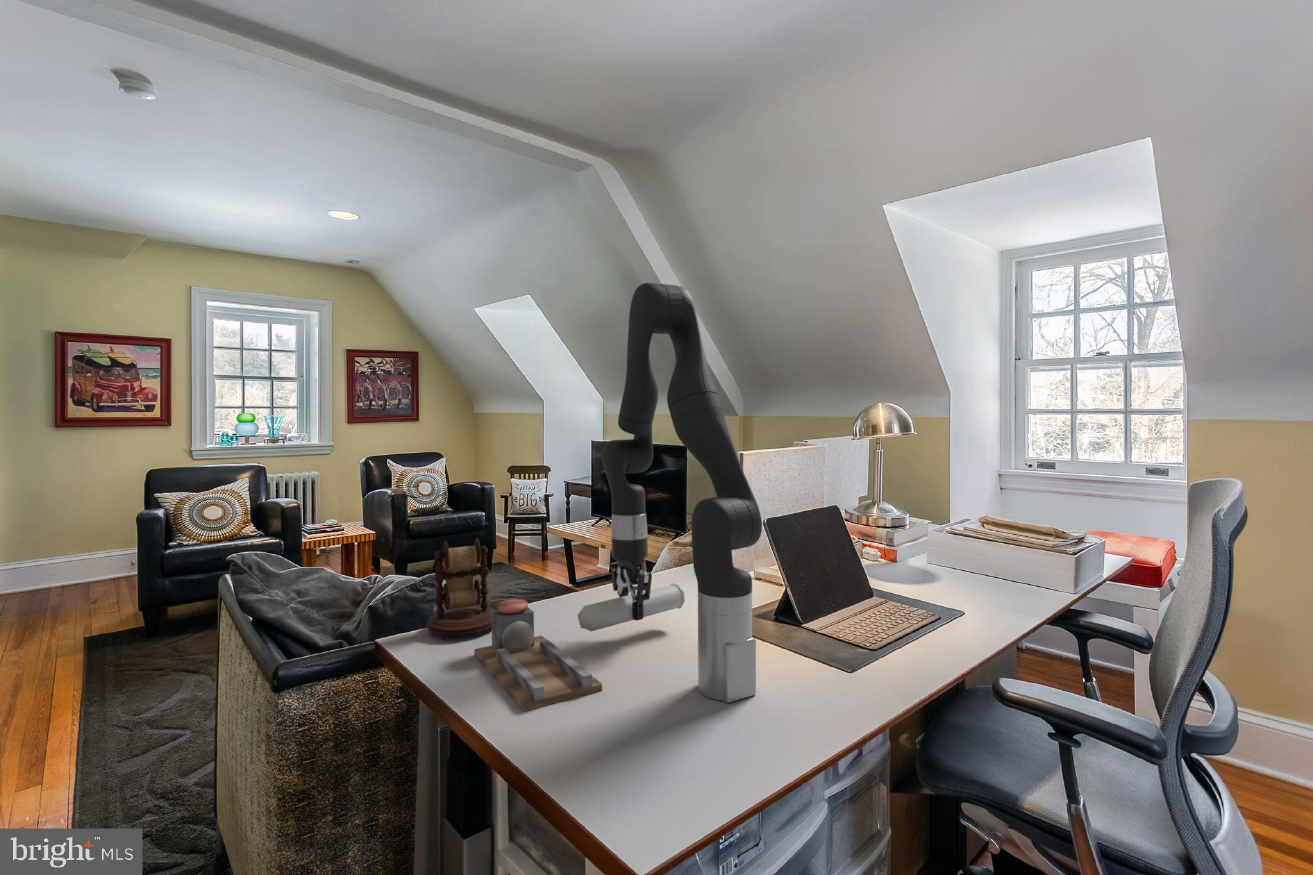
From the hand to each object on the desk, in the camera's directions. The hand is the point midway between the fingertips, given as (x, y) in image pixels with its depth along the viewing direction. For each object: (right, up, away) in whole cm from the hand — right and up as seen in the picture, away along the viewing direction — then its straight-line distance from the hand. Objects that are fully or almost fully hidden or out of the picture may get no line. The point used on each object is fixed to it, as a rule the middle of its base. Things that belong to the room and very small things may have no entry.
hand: (631, 615), depth 134 cm
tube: (0, -1, 0) cm, 1 cm away
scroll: (-37, -5, +7) cm, 38 cm away
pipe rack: (-17, -6, -16) cm, 24 cm away
